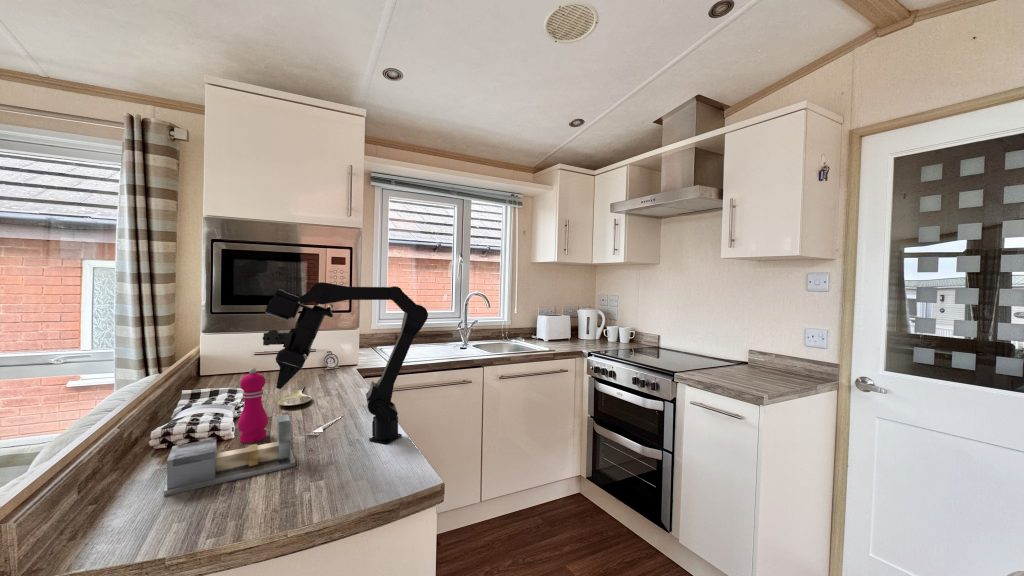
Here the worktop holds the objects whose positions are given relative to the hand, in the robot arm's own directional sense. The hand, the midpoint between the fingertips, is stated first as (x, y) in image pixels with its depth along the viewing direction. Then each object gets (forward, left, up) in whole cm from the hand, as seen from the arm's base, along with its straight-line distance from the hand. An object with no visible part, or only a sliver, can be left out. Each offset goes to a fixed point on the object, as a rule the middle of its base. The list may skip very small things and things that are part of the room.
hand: (281, 384), depth 104 cm
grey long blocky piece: (+1, +11, -18) cm, 21 cm away
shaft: (-1, +8, -16) cm, 19 cm away
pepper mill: (+16, -3, -18) cm, 24 cm away
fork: (+5, -19, -18) cm, 27 cm away
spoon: (+42, -38, -18) cm, 59 cm away
